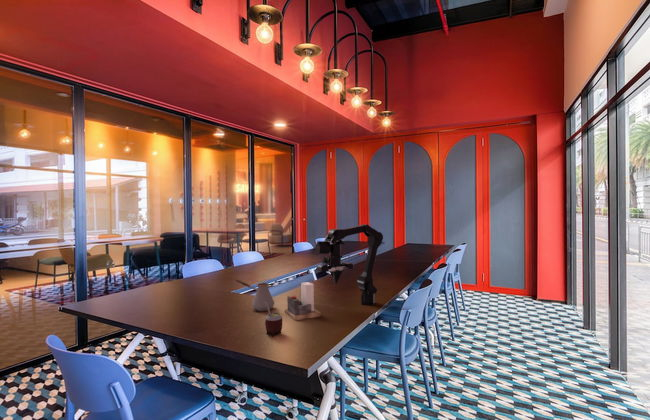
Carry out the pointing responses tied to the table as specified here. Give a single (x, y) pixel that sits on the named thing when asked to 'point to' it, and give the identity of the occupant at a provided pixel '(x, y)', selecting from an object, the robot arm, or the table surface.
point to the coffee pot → (261, 296)
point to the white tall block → (307, 294)
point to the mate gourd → (273, 323)
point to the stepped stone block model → (299, 309)
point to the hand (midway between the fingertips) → (335, 283)
